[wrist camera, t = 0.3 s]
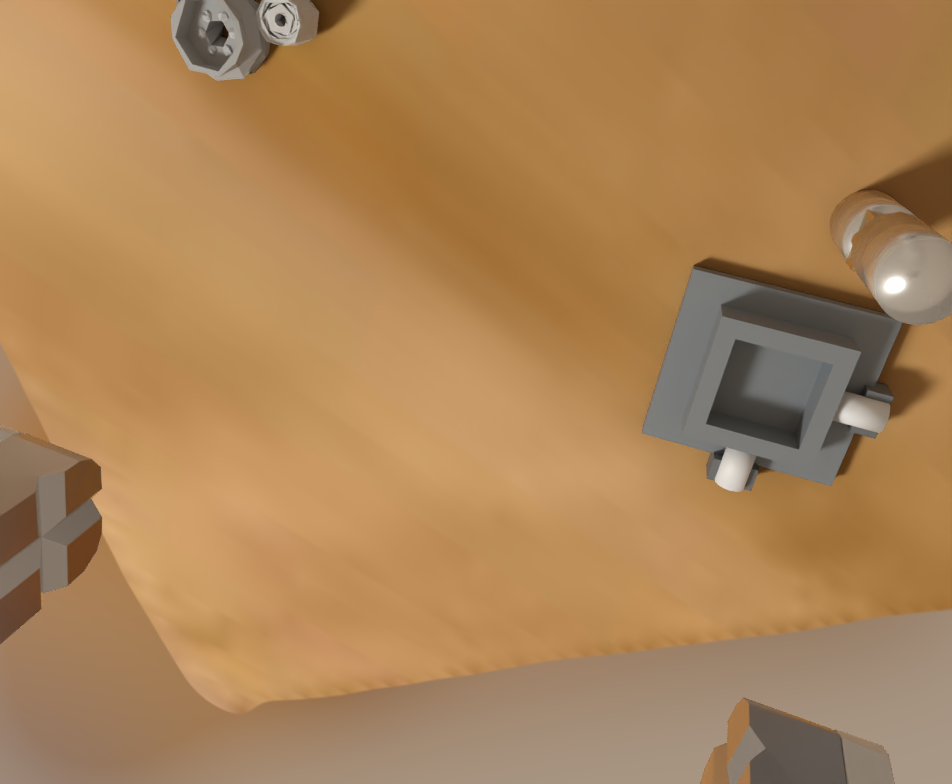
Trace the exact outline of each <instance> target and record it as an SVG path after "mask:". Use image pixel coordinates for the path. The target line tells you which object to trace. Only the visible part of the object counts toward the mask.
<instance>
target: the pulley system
mask: <svg viewBox="0 0 952 784" xmlns="http://www.w3.org/2000/svg"><path fill="white" fill-rule="evenodd" d="M176 1H177V4H178V5H177V7H176V9H175V10H174V12H173V13H172V15H171V24H172V38H173V41H174V42H175V44H176V46H177V48H178V50H179V52H180V53H181V55H182V57H183V59H184V61H185V63H186V64H187V66H188V68H189V70H193V71H197V72H202V73H207V74H208V75H209V76H211V77H212V78H214V79H215V80H216V81H219V80H229V79H244V78H245V77H246V76H247V75H248V74H249V73H250V72H251V71H252V72H251V73H254V72H256V71H257V69H258V68H259V67H260V65H261V64H262V63H263V61H264V60H265V59H266V57H267V56H268V54H269V48H270V43H273V44H277V45H281V46H286V45H300V44H303V43H305V42H308V41H311V40H313V39H315V38H317V28H318V18H319V11H318V10H317V9H316V7H315V6H314V4H313V3H312V2H311V1H310V0H262V1H261V3H260V5H259V3H258V2H256V1H255V0H176ZM224 25H225V27H226V29H227V30H228V32H229V36H228V38H227V39H226V38H224V37H221V34H222V30H223V26H224Z"/></svg>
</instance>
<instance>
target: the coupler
mask: <svg viewBox="0 0 952 784" xmlns="http://www.w3.org/2000/svg"><path fill="white" fill-rule="evenodd" d="M830 233H831V237H832V239H833V241H834V243H835V244H836V246H837V247H838V248H839V250H840V251H841V252H842V254H843V255H844V257H845V258H846V259H847V261H846V263H847V264H848V266H849V267H850V268H851V270H852V271H854V272H856V273H857V274H858V276H859V277H860V279H861V280H862V281H863V283H864V284H865V285H866V287H867V288H868V290H869V291H870V292H871V294H872V295H873V296H874V298H875V299H876V301H877V302H878V303H879V305H880V306H881V307H882V309H883V310H884V311H885V312H886V313H887V314H888V315H889V316H891V317H892V318H894V319H896V320H898V321H900V322H903V323H907V324H914V325H921V324H929V323H933V322H936V321H939V320H941V319H943V318H945V317H947V316H949V315H950V314H952V243H951V242H949V241H948V240H947V239H946V238H944V237H943V236H942V235H940V234H939V233H938V232H936V231H935V230H934V229H932V228H931V227H930V226H928V225H927V224H926V223H925V222H923V221H922V220H920V219H919V218H917V217H916V216H915V215H914V214H913V213H911V212H910V211H909V210H907V209H906V208H905V207H904V206H902V205H901V204H900V203H898V202H897V201H896V200H894V199H893V198H892V197H890V196H889V195H887V194H886V193H883V192H881V191H877V190H863V191H859V192H856V193H853V194H851V195H849V196H848V197H846V198H845V199H844V200H842V201H841V202H840V203H839V204H838V206H837V207H836V208H835V210H834V212H833V214H832V217H831V220H830Z"/></svg>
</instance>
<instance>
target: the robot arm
mask: <svg viewBox="0 0 952 784" xmlns="http://www.w3.org/2000/svg"><path fill="white" fill-rule="evenodd" d="M101 489H102V482H101V467H100V466H99V465H98V464H97V463H95V462H94V461H93V460H92V459H90V458H87V457H84V456H82V455H79V454H77V453H74V452H72V451H69V450H67V449H64V448H62V447H59V446H57V445H54V444H51V443H49V442H46V441H43V440H41V439H39V438H36V437H34V436H31V435H29V434H23V433H21V432H19V431H16V430H14V429H11V428H9V427H6V426H3V425H1V424H0V644H1V643H3V642H4V641H5V640H6V639H7V638H8V637H9V636H10V635H12V634H13V633H14V632H15V631H16V630H18V629H19V628H20V627H21V626H22V625H23V624H25V623H26V622H27V621H28V620H29V619H30V618H32V617H33V616H34V615H35V614H36V613H37V612H39V611H40V610H41V608H42V602H43V594H44V593H46V592H49V591H53V590H56V589H60V588H63V587H66V586H68V585H69V584H71V583H72V582H73V581H74V580H75V579H76V578H77V577H78V576H79V575H80V574H82V573H83V572H84V571H85V569H86V567H87V566H88V564H89V563H90V561H91V559H92V558H93V556H94V555H95V553H96V551H97V549H98V545H99V541H100V538H101V534H102V517H101V515H100V513H99V511H98V510H97V508H96V506H95V504H94V503H93V501H92V498H93V497H94V496H95V495H96V494H97V493H98V492H99V491H100V490H101ZM700 784H895V783H894V778H893V773H892V768H891V764H890V759H889V754H888V753H887V752H886V750H885V749H884V747H882V745H878V744H876V743H873V742H870V741H867V740H864V739H861V738H858V737H855V736H853V735H850V734H847V733H844V732H841V731H838V730H831V729H830V728H827V727H824V726H822V725H819V724H816V723H813V722H811V721H807V720H805V719H802V718H799V717H797V716H794V715H791V714H788V713H785V712H783V711H780V710H777V709H774V708H771V707H768V706H765V705H763V704H760V703H757V702H755V701H752V700H749V699H746V698H742V699H741V701H740V702H739V703H738V704H737V705H736V706H735V708H734V710H733V712H732V714H731V716H730V718H729V720H728V737H727V743H725V744H723V745H720V746H718V747H716V748H714V749H713V752H712V754H711V756H710V758H709V760H708V763H707V765H706V767H705V769H704V772H703V776H702V779H701V782H700Z"/></svg>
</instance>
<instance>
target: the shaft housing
mask: <svg viewBox="0 0 952 784" xmlns="http://www.w3.org/2000/svg"><path fill="white" fill-rule="evenodd" d="M902 323H903V322H900V321H898V320H896V319H894V318H892V317H891V316H889V315H888V314H887V313H883V312H879V311H875V310H871V309H866V308H862V307H858V306H854V305H850V304H846V303H842V302H838V301H834V300H830V299H826V298H822V297H818V296H814V295H810V294H806V293H802V292H798V291H794V290H790V289H786V288H782V287H778V286H774V285H770V284H766V283H762V282H758V281H754V280H750V279H746V278H742V277H738V276H734V275H730V274H726V273H722V272H718V271H714V270H710V269H706V268H702V267H698V266H693V269H692V272H691V275H690V278H689V281H688V285H687V288H686V291H685V294H684V297H683V301H682V304H681V307H680V310H679V313H678V316H677V320H676V323H675V326H674V329H673V332H672V336H671V339H670V342H669V345H668V348H667V351H666V355H665V358H664V361H663V364H662V367H661V371H660V374H659V377H658V380H657V383H656V386H655V390H654V393H653V396H652V399H651V402H650V406H649V409H648V412H647V415H646V418H645V421H644V425H643V429H642V433H643V434H646V435H650V436H653V437H657V438H661V439H664V440H668V441H671V442H675V443H678V444H682V445H686V446H689V447H693V448H696V449H700V450H704V451H707V452H711V454H710V457H709V460H708V462H707V465H706V466H707V479H710V480H714V481H715V482H716V483H717V484H718V485H719V486H721V487H723V488H725V489H727V490H730V491H735V492H740V491H743V490H744V489H746V490H749V491H751V489H752V487H753V484H754V482H755V479H756V476H757V474H758V471H759V470H758V466H761V467H765V468H768V469H772V470H775V471H779V472H782V473H786V474H790V475H793V476H797V477H800V478H804V479H808V480H811V481H815V482H818V483H822V484H826V485H829V486H832V483H833V481H834V479H835V477H836V474H837V472H838V470H839V467H840V465H841V463H842V460H843V458H844V456H845V454H846V451H847V449H848V447H849V444H850V442H851V440H852V438H853V435H854V433H856V434H860V435H864V436H867V437H871V438H876V436H877V434H878V433H880V432H882V431H883V429H884V428H885V426H886V424H887V421H888V419H889V415H890V405H891V403H892V401H893V399H894V396H893V394H892V392H891V391H890V389H889V387H888V386H887V385H884V384H880V383H877V380H878V378H879V376H880V374H881V371H882V369H883V367H884V364H885V362H886V360H887V358H888V355H889V353H890V351H891V348H892V346H893V344H894V341H895V339H896V337H897V335H898V332H899V330H900V328H901V325H902Z"/></svg>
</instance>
